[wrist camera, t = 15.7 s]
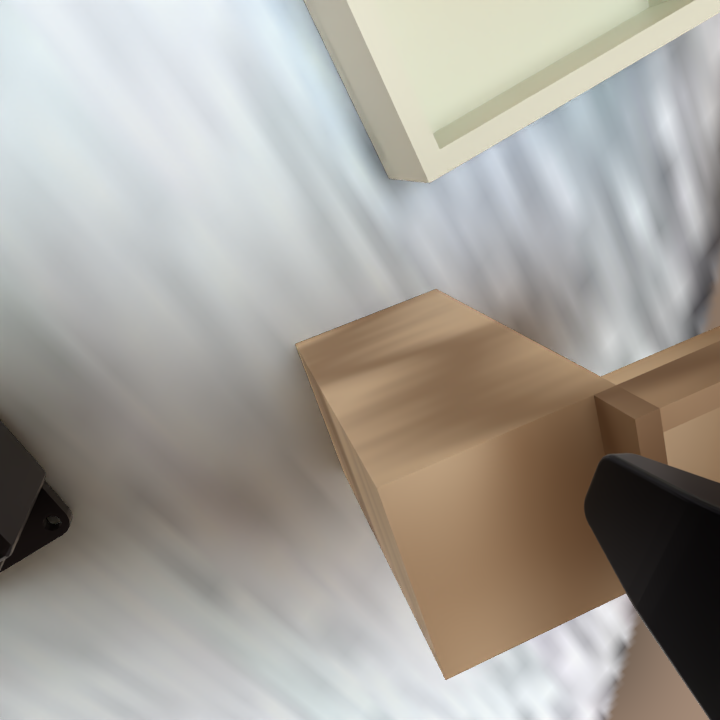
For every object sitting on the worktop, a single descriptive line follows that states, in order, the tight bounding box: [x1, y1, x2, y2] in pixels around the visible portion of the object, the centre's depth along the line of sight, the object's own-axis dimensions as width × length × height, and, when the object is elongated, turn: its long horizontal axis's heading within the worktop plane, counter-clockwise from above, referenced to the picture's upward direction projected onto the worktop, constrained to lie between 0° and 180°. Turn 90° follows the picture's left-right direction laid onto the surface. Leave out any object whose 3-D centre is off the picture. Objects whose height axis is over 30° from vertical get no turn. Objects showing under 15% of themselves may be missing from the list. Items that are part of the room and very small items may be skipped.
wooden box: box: [295, 289, 720, 680], centre depth 17 cm, size 9×5×11 cm, turn 108°
